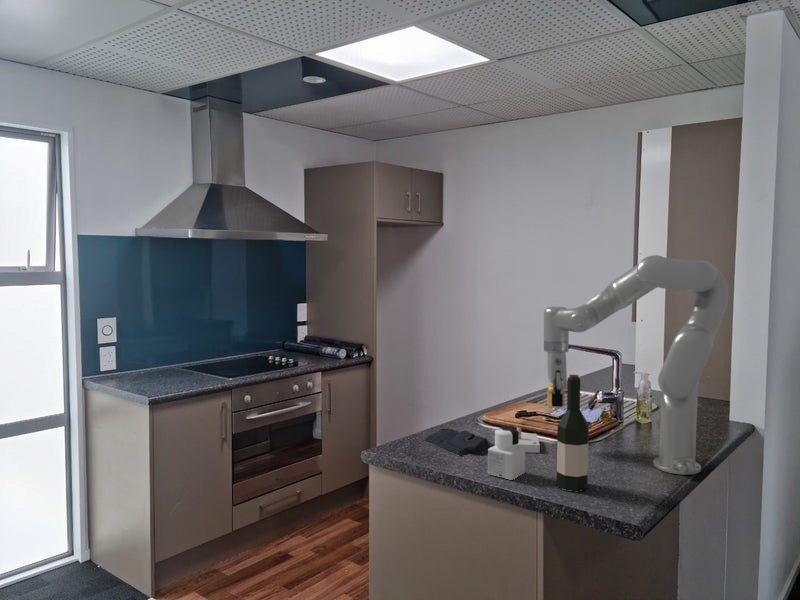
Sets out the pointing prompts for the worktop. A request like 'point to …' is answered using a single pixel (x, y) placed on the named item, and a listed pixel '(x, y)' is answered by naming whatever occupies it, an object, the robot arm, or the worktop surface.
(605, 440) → the worktop surface
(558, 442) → the wine bottle
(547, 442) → the worktop surface
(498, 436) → the container
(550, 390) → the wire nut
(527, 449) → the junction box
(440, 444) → the black folded cloth
